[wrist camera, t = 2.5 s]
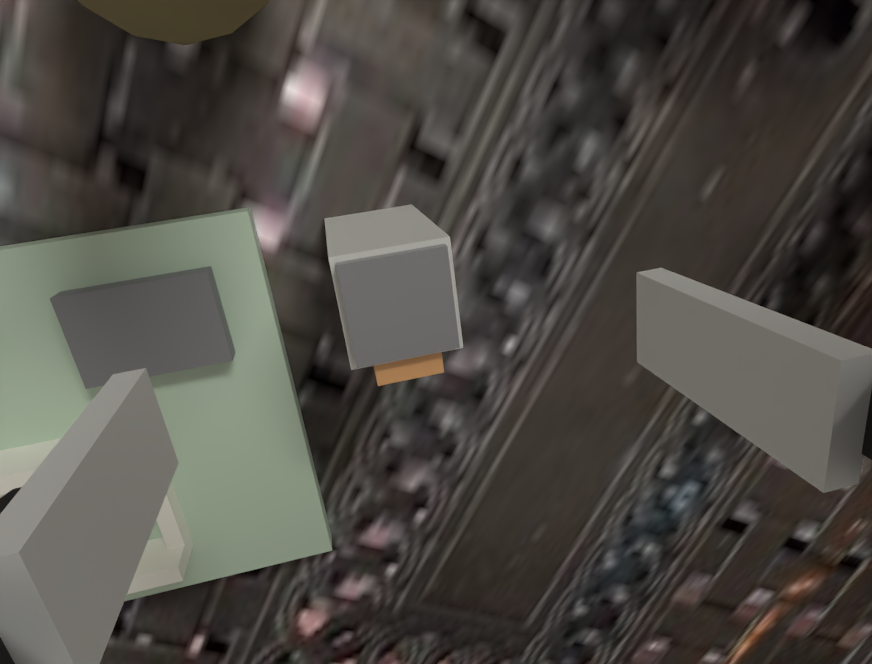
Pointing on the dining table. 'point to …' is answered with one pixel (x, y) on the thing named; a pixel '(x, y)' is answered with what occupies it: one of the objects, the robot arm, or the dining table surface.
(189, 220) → the board
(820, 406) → the robot arm
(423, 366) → the plug
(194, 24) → the squeeze bottle
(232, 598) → the dining table surface
